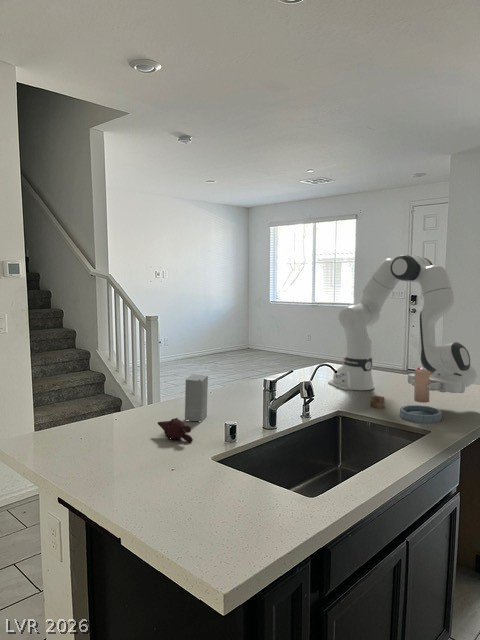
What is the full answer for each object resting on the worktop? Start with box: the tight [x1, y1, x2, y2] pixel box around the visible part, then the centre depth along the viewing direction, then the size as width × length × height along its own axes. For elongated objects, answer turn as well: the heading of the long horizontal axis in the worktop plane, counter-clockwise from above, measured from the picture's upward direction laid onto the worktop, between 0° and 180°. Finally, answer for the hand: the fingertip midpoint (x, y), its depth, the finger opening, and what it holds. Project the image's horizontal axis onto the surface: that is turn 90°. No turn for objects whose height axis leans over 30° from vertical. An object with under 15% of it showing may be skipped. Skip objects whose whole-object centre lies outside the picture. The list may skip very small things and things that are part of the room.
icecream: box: [157, 417, 193, 443], centre depth 152 cm, size 7×7×15 cm
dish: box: [399, 404, 443, 424], centre depth 174 cm, size 14×14×2 cm
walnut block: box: [370, 395, 385, 410], centre depth 187 cm, size 4×4×4 cm
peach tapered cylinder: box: [413, 369, 431, 404], centre depth 173 cm, size 5×5×11 cm
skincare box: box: [184, 373, 209, 422], centre depth 172 cm, size 8×7×16 cm
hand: (420, 384), depth 172 cm, fingers closed on peach tapered cylinder, 5 cm apart
